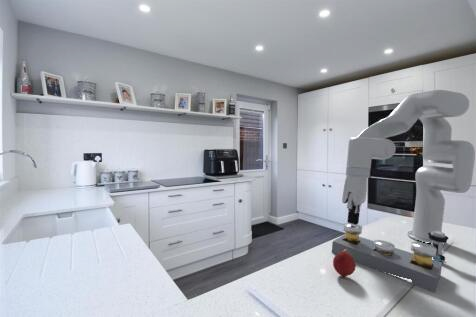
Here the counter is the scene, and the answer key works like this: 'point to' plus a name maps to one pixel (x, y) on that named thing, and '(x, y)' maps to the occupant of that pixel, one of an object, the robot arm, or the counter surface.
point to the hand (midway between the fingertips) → (352, 223)
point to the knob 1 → (352, 232)
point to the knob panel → (391, 262)
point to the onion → (344, 263)
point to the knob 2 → (423, 254)
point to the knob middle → (383, 247)
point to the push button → (438, 244)
